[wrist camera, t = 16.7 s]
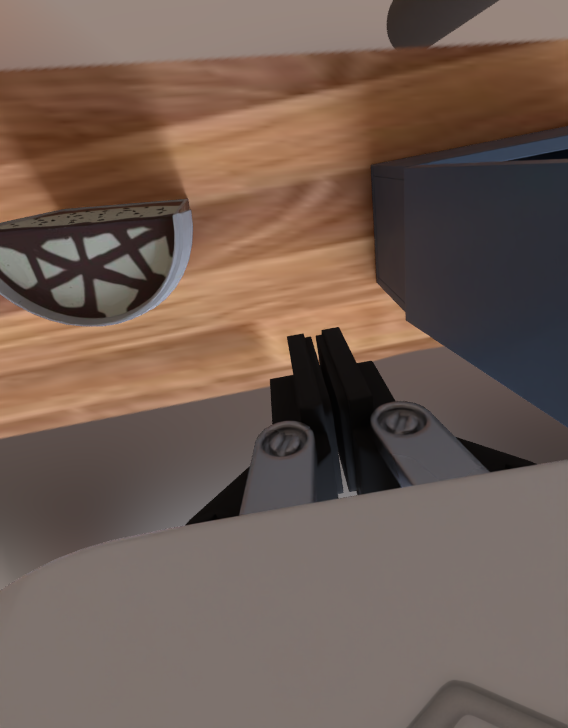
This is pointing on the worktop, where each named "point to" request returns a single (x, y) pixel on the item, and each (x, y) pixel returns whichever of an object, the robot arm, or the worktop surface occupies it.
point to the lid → (493, 270)
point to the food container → (95, 260)
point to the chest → (391, 173)
